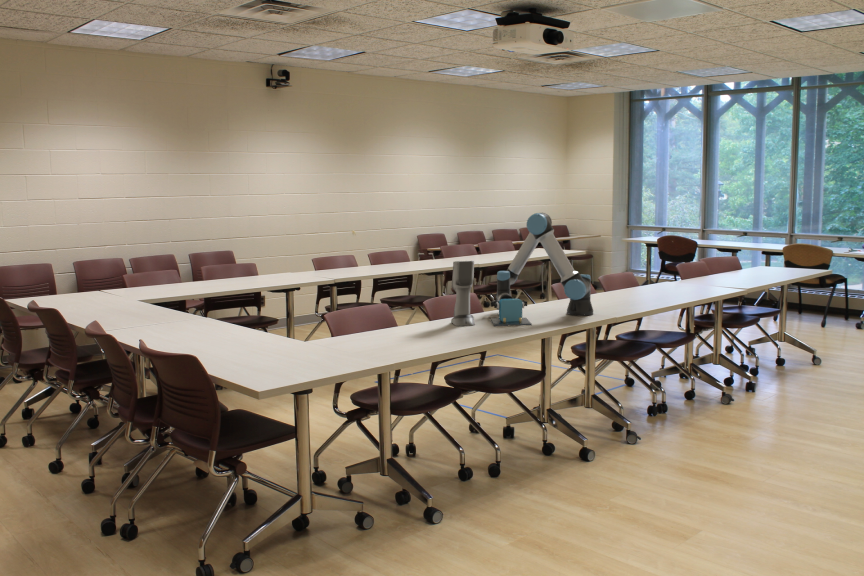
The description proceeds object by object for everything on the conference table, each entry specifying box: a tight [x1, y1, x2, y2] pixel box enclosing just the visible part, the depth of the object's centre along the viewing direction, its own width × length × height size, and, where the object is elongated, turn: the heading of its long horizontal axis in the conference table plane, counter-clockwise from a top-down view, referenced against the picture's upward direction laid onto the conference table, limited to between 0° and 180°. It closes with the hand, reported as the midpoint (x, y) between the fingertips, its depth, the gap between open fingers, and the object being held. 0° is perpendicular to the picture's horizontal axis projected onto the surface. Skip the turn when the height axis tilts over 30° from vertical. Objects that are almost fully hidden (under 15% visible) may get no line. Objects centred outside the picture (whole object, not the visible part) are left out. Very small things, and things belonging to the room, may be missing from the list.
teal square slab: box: [498, 298, 523, 322], centre depth 397 cm, size 12×4×12 cm, turn 99°
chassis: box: [489, 317, 532, 327], centre depth 398 cm, size 20×19×4 cm
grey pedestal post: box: [450, 260, 476, 327], centre depth 394 cm, size 12×13×35 cm
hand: (511, 306), depth 395 cm, fingers open, 13 cm apart
